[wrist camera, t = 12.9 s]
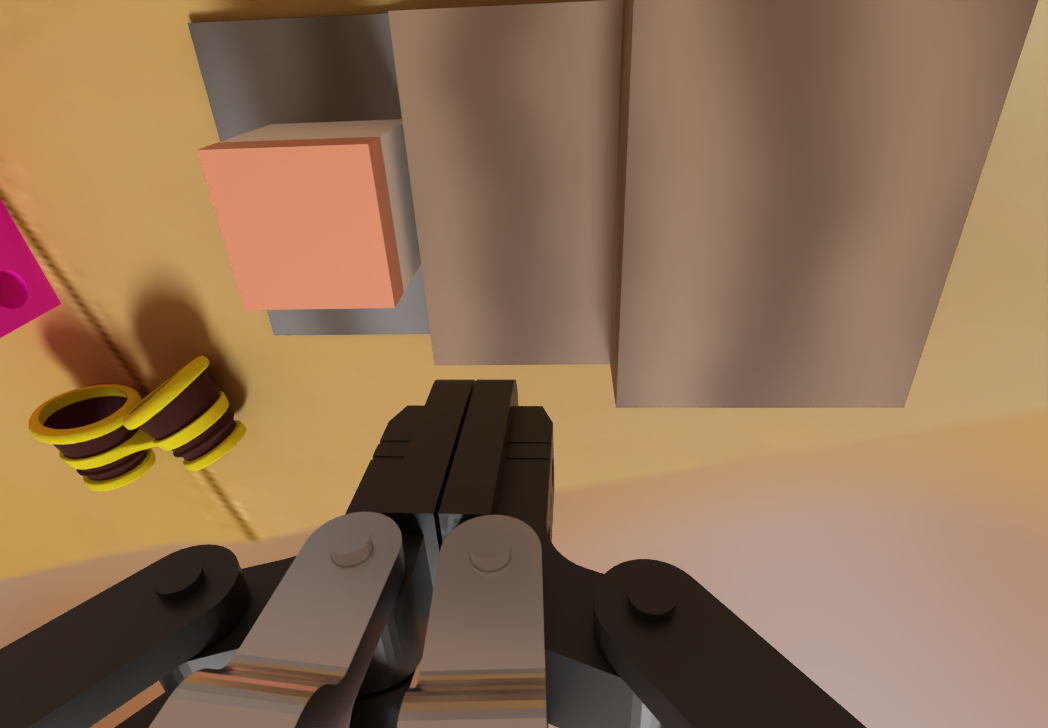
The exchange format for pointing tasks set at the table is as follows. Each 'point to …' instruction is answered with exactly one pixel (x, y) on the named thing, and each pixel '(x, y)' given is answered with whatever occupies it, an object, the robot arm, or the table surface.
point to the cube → (316, 214)
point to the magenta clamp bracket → (20, 279)
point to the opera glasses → (138, 426)
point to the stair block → (659, 179)
